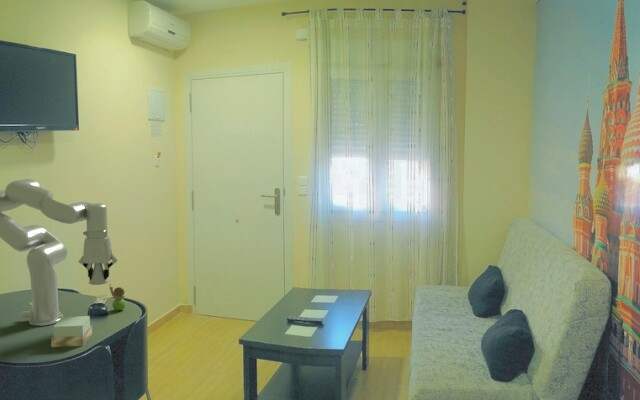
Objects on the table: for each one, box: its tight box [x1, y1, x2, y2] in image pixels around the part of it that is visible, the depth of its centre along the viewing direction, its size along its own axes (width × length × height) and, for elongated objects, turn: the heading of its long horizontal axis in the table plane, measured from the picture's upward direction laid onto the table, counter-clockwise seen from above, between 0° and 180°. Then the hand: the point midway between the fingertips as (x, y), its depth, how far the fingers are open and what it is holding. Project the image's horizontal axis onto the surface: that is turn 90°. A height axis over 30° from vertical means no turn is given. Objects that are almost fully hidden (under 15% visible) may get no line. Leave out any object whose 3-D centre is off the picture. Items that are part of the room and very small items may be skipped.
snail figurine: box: [108, 283, 126, 312], centre depth 228 cm, size 5×6×12 cm
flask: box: [88, 263, 110, 286], centre depth 211 cm, size 7×7×10 cm
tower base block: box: [50, 324, 93, 348], centre depth 196 cm, size 11×11×4 cm
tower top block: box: [52, 315, 91, 337], centre depth 195 cm, size 10×10×4 cm
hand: (98, 278), depth 211 cm, fingers closed on flask, 5 cm apart
